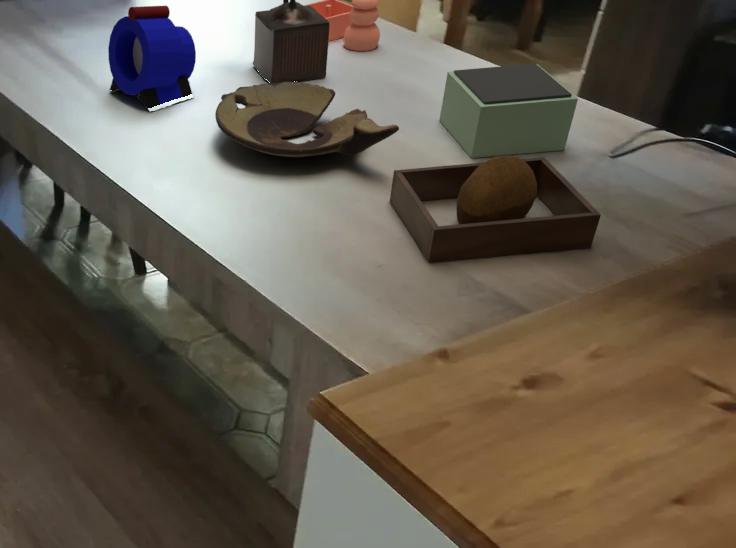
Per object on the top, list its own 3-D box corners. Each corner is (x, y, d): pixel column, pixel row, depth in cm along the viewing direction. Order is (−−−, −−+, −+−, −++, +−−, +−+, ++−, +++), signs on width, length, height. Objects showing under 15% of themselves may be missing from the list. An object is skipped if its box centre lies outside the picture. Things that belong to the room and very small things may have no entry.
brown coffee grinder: (305, 57, 170) (312, -51, 158) (327, 78, 161) (336, -35, 149) (223, 68, 168) (225, -41, 156) (242, 89, 160) (244, -24, 148)
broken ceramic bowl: (310, 102, 154) (314, 54, 149) (417, 172, 133) (426, 119, 128) (189, 129, 148) (188, 81, 143) (280, 207, 127) (283, 153, 122)
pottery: (292, 30, 181) (295, -24, 174) (330, 20, 184) (335, -34, 177) (351, 56, 169) (357, -2, 162) (391, 45, 172) (399, -12, 165)
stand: (564, 150, 136) (579, 95, 131) (470, 158, 135) (481, 104, 130) (526, 113, 146) (538, 61, 141) (439, 120, 146) (448, 69, 141)
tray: (591, 247, 115) (601, 214, 112) (428, 262, 115) (434, 229, 112) (536, 187, 128) (544, 156, 125) (389, 201, 127) (393, 170, 124)
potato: (427, 220, 122) (438, 157, 117) (499, 199, 126) (513, 137, 120) (469, 248, 117) (483, 183, 111) (544, 225, 120) (561, 161, 114)
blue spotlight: (106, 93, 162) (99, 1, 152) (162, 75, 166) (160, -14, 156) (146, 113, 154) (142, 18, 144) (204, 94, 159) (204, 1, 149)
